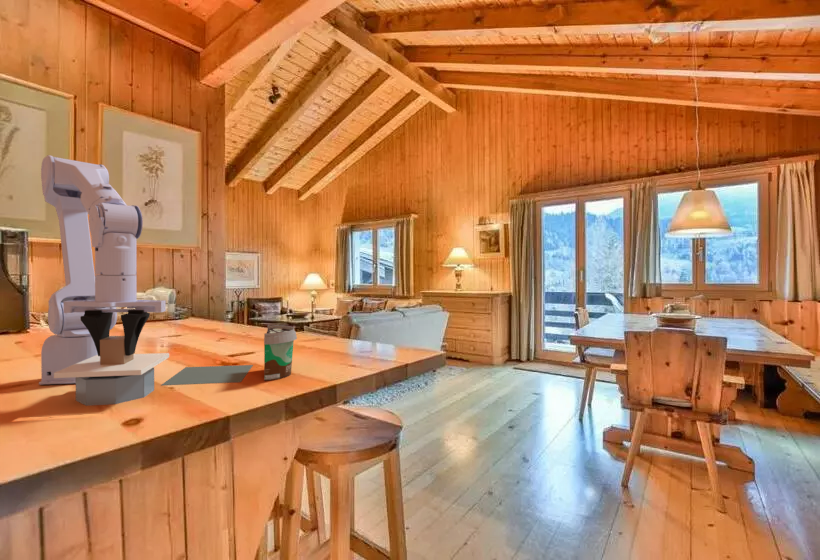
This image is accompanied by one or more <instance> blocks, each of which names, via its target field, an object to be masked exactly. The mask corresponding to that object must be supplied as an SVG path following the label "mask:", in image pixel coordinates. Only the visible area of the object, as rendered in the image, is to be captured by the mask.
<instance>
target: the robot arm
mask: <svg viewBox="0 0 820 560" xmlns="http://www.w3.org/2000/svg"><path fill="white" fill-rule="evenodd" d="M40 174H41V175H40V180H41V189H42V196H43V197H44V201H45V202H46V203H48V204H50V206H53V207H54V208H55V210H56V211H55V212H56V214H57V217H58V225H59V233H60V235H59V236H60V243H61V253H62V264H63V272H64V281H65V286H62V287H61V288H60V289H58V290H57V291H54V292H53V293H52V294H51V296H50V298H49V300H48V312H47V322H48V323H47V324H48V328H49V331H50V332H51V333H53V334H54V335H49V336H48V337H47V338H46V339H45V340H44V341H43V344H42V346H41V352H40V353H41V355H40V357H41V360H40V361H41V362H40V363H41V366H40V367H41V370H40V371H41V380H40V381H39V382H38V385H42V386H43V385H62V384H65V385H67V384H68V385H69V384H76V377H70V378H54V373H55V372H57V371H60V370H62V369H64V368H67V367H69V366H72V365H74V364H76V363H79V362H81V361H84V360H86V359H88V358H91V357H93V356H95V355H98V356H100V340H101V339H104V338H107V337H109V336H110V331H111V330H112V329H113V328H114V327H115V326H116V324H117V320H118V313H123V314H120V318H121V323H122V327H123V336H124V347H125V355H126V356H129V355H132V354H136V353H135V352H136V348H137V344H138V341H139V338H140V335H141V333H142V331H143V328H144V326H145V324H146V323H147V322H148V320H149V317H150V316H151V315H150V313H164V312H166V311H167V310H166V307H167V305H166V300H155V299H154V300H153V299H151V300H150V299H137V298H138V296H137V295H138V293H137V292H138V291H137V290H138V289H137V286H138V285H137V281H138V279H137V278H138V277H137V268H138V267H137V252H138V251H137V246H138V245H137V243H138V242H137V241H138V239H139V238H140V237H141V235H142V231H143V225H144V217H143V213H142V211H141V209H140V206H139V205H135V204H134V205H133V204H132V205H131V204H130V205H128V204H127V203H126V202H125V201H124V199H123V198H122V197H121V195H120V194H119V193H118V192H117V190H116V189H115V188H114V187H113V186H112V185H111V184H110V174H109V170H108V168H106V166H105V165H104V164H96V163H90V162H87V161H79V160H74V159H68V158H63V157H62V158H61V157H57V156H53V155H50V154H48V155H46V156H45V157H43V159H42V162H41V168H40ZM92 247H93V248H94V258H93V250H92Z"/></svg>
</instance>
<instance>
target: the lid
mask: <svg viewBox="0 0 820 560" xmlns="http://www.w3.org/2000/svg"><path fill="white" fill-rule="evenodd" d="M169 358H170V353H169V352H161V353H159V352H157V353H155V352H154V353H134V354H132V355H129V356H126V355H125V347H124V335H109V337H107V338H104V339H101V340H100V356H98V355H95V356H93V357H91V358H88V359H86V360H84V361H81V362H79V363H76V364H74V365H72V366H69V367H67V368H64V369H62V370H60V371H57V372H55V373H54V378H70V377H98V376H126V375H142V374H143V373H145V372H147V371H148V370H150V369H151V368H155V367H156V366H157V365H159V364H161V363H162V362H164V361H166V360H167V359H169Z"/></svg>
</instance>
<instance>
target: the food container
mask: <svg viewBox="0 0 820 560" xmlns="http://www.w3.org/2000/svg"><path fill="white" fill-rule="evenodd" d="M263 334H264V336H263V338H264V339H263V344H264V350H263V351H264V352H263V353H264V355H263V356H264V359H263V361H264V363H263V365H264V371H263V372H264V379H263V380H264V381H263V382H272V381H276V380H282V379H285V378H288V377H289V376H291V375H292V368H293V367H292V364H293V353H294V341H296V340H297V339H298V337H297V332H296V330H295V328H294V326H293V327H292V326H288V325H276V324H275V325H267V330H266V333H263Z"/></svg>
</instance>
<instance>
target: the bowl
mask: <svg viewBox="0 0 820 560" xmlns="http://www.w3.org/2000/svg"><path fill="white" fill-rule="evenodd" d="M154 391H155V367H153V368H151V369H150V370H148V371H147V372H145V373H143V374H142V375H126V376H98V377H76V383H75V401H76V402H78V403H80V404H82V405H85V406H86V407H87V406H104V405H105V406H106V405H118V404H123V403H127V402H131V401H135V400H140V399H142V398H146V397H147V396H148V395H150V394H151V393H153V392H154Z"/></svg>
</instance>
